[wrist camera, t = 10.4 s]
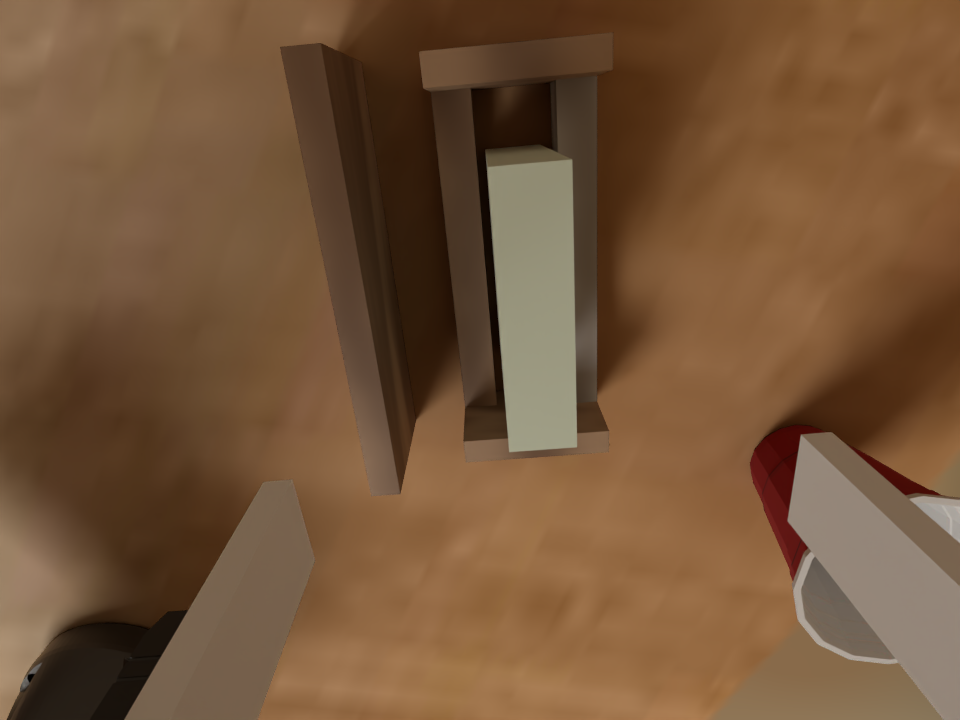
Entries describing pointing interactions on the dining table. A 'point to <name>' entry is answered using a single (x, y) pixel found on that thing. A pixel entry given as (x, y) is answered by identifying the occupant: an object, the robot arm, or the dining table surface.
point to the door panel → (535, 293)
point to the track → (365, 246)
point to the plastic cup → (812, 585)
